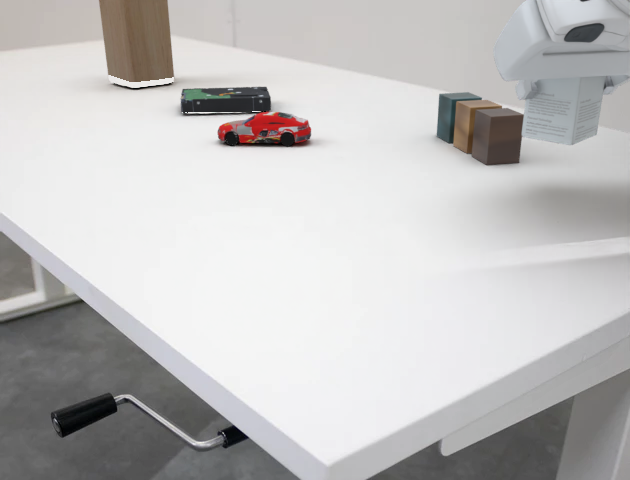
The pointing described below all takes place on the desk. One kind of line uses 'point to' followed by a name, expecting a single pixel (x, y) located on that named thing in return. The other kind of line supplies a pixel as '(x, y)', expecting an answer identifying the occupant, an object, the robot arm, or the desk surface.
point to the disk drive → (225, 99)
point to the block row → (480, 127)
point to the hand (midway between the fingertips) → (562, 91)
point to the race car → (266, 129)
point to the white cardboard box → (564, 110)
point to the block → (137, 39)
